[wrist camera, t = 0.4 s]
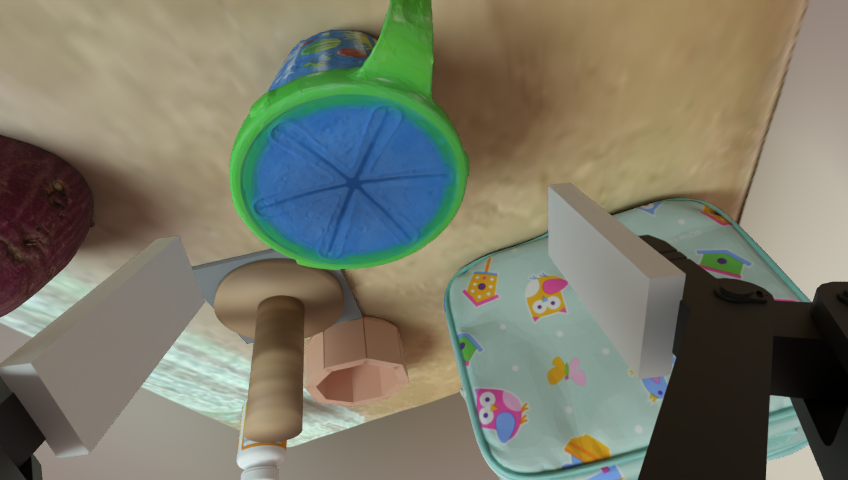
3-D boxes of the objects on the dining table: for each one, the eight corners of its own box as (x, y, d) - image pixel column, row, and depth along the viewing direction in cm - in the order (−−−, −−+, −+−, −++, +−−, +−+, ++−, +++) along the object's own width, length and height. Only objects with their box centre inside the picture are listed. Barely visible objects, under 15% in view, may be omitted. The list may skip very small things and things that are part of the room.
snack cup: (306, -110, 19) (301, -50, 12) (487, 10, 24) (555, 99, 17) (221, 155, 28) (190, 276, 21) (366, 202, 33) (380, 311, 26)
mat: (181, 269, 35) (180, 273, 34) (325, 236, 35) (325, 240, 35) (247, 340, 44) (247, 343, 43) (362, 314, 44) (362, 317, 43)
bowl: (295, 329, 44) (293, 374, 40) (390, 307, 44) (396, 351, 40) (325, 371, 51) (326, 412, 48) (407, 352, 51) (413, 392, 48)
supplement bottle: (275, 411, 57) (270, 493, 50) (235, 406, 54) (224, 492, 47) (296, 394, 54) (293, 478, 48) (255, 388, 51) (246, 476, 45)
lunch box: (446, 320, 47) (503, 553, 33) (418, 267, 40) (476, 540, 26) (686, 242, 45) (863, 460, 30) (705, 171, 37) (953, 415, 23)
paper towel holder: (190, 275, 35) (152, 423, 27) (321, 245, 35) (323, 384, 27) (249, 340, 43) (234, 469, 35) (356, 316, 43) (365, 438, 35)
